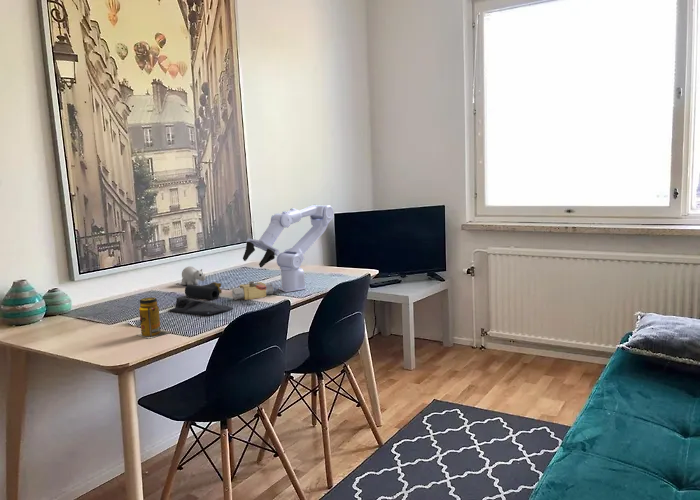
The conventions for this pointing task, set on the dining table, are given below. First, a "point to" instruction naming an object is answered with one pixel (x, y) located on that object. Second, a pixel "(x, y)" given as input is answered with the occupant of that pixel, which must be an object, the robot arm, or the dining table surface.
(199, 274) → the chubby cartoon animal
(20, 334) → the dining table surface
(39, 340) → the dining table surface
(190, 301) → the dark slate chunk
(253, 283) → the lever
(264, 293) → the valve
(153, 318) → the condiment
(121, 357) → the dining table surface
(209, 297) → the pipe connector
